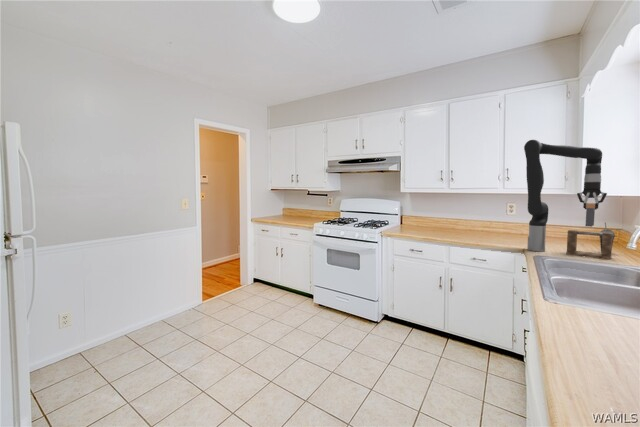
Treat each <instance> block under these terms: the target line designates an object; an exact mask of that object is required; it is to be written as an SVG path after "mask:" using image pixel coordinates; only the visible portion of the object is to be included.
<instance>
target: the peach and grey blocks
mask: <svg viewBox="0 0 640 427" xmlns="http://www.w3.org/2000/svg"><path fill="white" fill-rule="evenodd" d="M595 204H596V202H587V203H586V209H585V210H586V212H585V226H584V227H590V228H591V227H593V226H595V212H596V210H595Z"/></svg>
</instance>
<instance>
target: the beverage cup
mask: <svg viewBox="0 0 640 427" xmlns="http://www.w3.org/2000/svg"><path fill="white" fill-rule="evenodd" d="M604 226H605V229H602V230H601V231H600V232H599V233H603V232H607V233H613V236H612V247H613V245H614V240H615V237H616V235H615V232H614V231H613V230H612V229H609V228H608V229H607V222H604ZM599 240H600V241H599V244H600V253H602V236H599Z"/></svg>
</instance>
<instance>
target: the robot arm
mask: <svg viewBox="0 0 640 427" xmlns="http://www.w3.org/2000/svg"><path fill="white" fill-rule="evenodd" d="M523 150H524V153H525V154H524V155H525V160H526V184H527V185H526V186H527V211H528V213H529V215H531V216H532V217H531V219H530V220H529V222H528V225H529V226H528V236H527V251H533V252H545V251H546V236H547V232H546V231H547V222H548V221H549V219H548V218H549V206H548V203H546V202H543V201H542V197H541V193H542V190H543V187H544V181H545V178H544V170H543V169H544V168H543V166H542V163H541V158H540V157H541V156H540V155H552V156H558V157H559V156H560V157H565V158H575V159H584V160H585V159H586V166H585V167H584V168H585V169H584V172H585V173H584V177H583V178H584V179H583V190H582V191H581V192H577V193H576V196H577V199H578V201H579V202H580V203H583V209H584V210H586V203H588V200H589V199H594V201H595V202H594V203H596V204H595V211H596V210H598V209H599V205H600V204H601V203H603V202H604V200H605V198H606V197H607V195H608V192H604V191H603V192H602V190H601V186H602V184H601V183H602V175H601V174H602V160H603V152H602V150H601V149H600V148H597V147H584V146H583V147H581V146H575V145H567V144H566V145H561V144H560V145H556V144H555V145H554V144H547V143H543V142H540V141H538V140H536V139H530V140H527V142H525V144H524V146H523ZM583 195H584V197H585V198H584V199H583V198H582V196H583ZM600 195H601V196H602V197H601V198H600V200H599V197H598V196H600Z"/></svg>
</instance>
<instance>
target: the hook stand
mask: <svg viewBox="0 0 640 427" xmlns="http://www.w3.org/2000/svg"><path fill="white" fill-rule="evenodd" d="M578 235H583V236H584V235H585V236H595V237H596V236H597V237H600V236H602V253H601V252H593V251H592V252H590V251H581V250H577V249H578V248H577V243H578ZM612 236H613V233H607V232H603V233H600V232H597V231H585V230H584V231H580V230H576V229H575V230H573V229H568V230H567V240H566V242H567V243H566V253H565V255H567V256H576V257H583V256H585V258H592V257H593V259H594V258H595V259H602V260H611V259H612V257H613V256H612V254H613V253H612V251H613V246H612Z"/></svg>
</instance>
